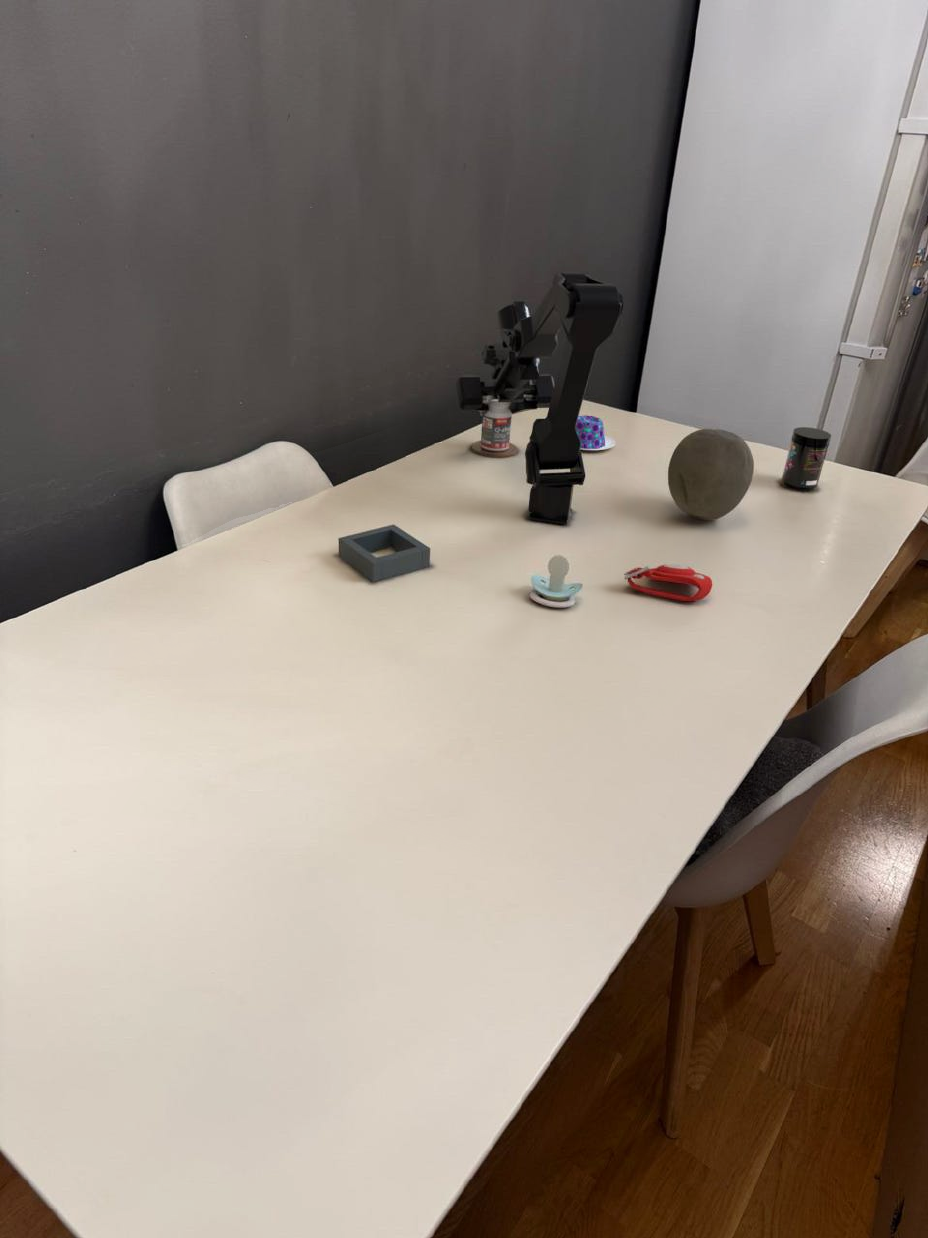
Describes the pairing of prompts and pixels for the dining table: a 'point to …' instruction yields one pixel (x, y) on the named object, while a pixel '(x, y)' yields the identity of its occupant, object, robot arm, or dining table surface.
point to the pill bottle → (496, 426)
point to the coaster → (480, 450)
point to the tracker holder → (672, 580)
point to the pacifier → (555, 585)
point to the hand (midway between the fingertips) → (495, 412)
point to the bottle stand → (376, 569)
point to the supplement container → (805, 458)
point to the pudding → (592, 434)
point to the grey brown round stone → (710, 473)
